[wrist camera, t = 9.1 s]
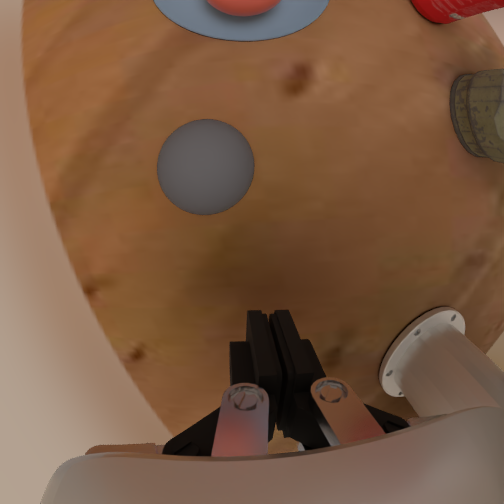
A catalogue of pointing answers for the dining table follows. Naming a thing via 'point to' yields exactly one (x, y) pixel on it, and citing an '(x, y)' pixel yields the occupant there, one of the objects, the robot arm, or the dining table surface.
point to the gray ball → (205, 167)
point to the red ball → (243, 6)
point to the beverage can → (453, 9)
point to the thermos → (480, 113)
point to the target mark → (242, 19)
